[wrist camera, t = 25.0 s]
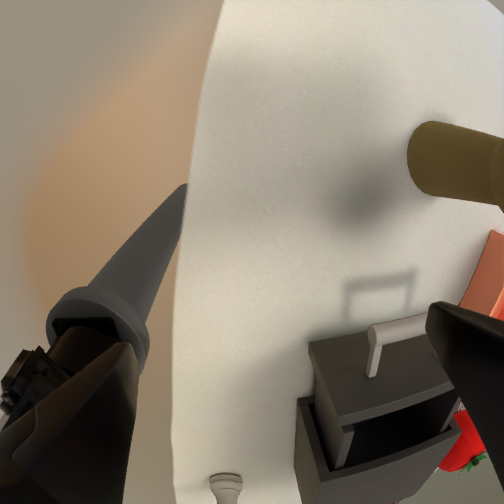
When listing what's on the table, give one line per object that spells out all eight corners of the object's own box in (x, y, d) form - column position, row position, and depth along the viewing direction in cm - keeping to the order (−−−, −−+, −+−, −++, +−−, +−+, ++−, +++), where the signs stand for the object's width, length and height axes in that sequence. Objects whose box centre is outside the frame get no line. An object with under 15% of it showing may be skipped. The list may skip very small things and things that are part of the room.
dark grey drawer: (309, 295, 21) (347, 367, 14) (445, 273, 22) (504, 318, 15) (302, 436, 28) (318, 496, 20) (405, 410, 28) (433, 458, 21)
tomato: (409, 437, 33) (436, 487, 24) (463, 389, 31) (498, 436, 21) (434, 444, 36) (458, 485, 27) (480, 403, 34) (509, 441, 24)
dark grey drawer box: (297, 398, 27) (320, 483, 17) (418, 369, 27) (463, 431, 18) (293, 466, 32) (307, 527, 23) (389, 442, 33) (414, 494, 23)
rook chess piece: (239, 485, 33) (244, 532, 25) (208, 484, 32) (209, 531, 25) (244, 473, 31) (250, 523, 24) (210, 471, 31) (211, 523, 23)
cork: (455, 118, 18) (563, 126, 8) (464, 188, 21) (564, 225, 10) (400, 124, 19) (518, 129, 8) (412, 203, 21) (519, 253, 10)
